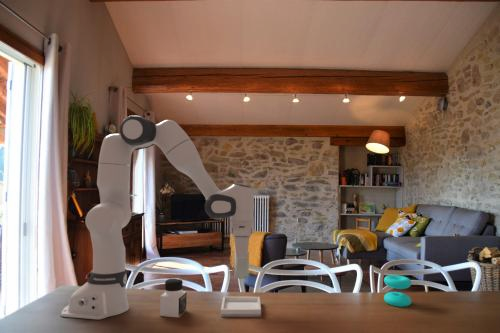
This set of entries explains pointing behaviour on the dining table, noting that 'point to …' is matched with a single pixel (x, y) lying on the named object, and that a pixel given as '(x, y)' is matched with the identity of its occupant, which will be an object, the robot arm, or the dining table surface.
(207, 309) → the dining table surface
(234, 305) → the grey tray
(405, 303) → the donuts
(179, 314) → the medicine bottle
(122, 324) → the dining table surface
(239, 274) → the sage cup
